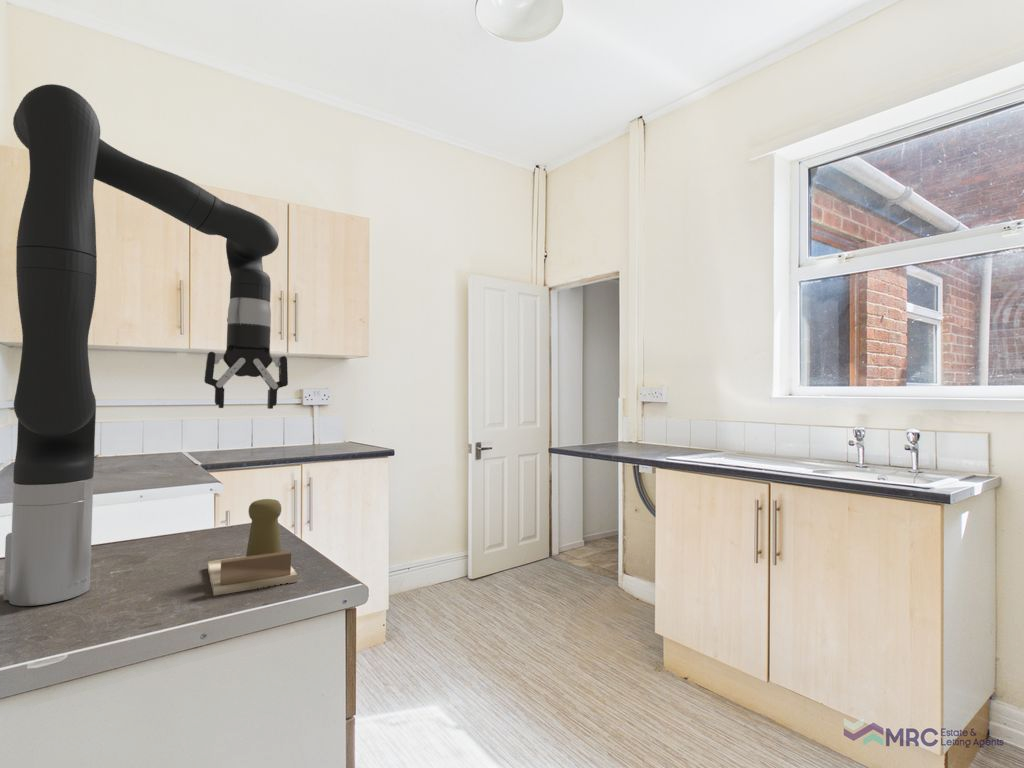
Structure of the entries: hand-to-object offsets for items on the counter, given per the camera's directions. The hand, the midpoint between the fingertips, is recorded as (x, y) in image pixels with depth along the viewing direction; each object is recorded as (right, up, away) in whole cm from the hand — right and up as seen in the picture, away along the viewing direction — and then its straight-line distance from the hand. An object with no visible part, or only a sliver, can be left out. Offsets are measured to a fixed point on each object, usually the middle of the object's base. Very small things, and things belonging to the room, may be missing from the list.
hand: (246, 408), depth 104 cm
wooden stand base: (+7, -28, -12) cm, 31 cm away
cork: (+8, -27, -10) cm, 30 cm away
